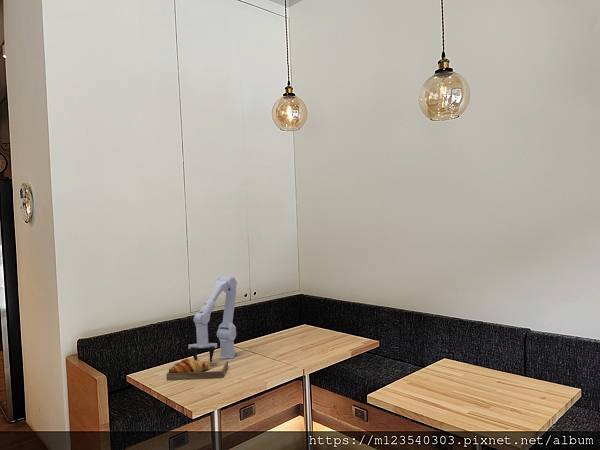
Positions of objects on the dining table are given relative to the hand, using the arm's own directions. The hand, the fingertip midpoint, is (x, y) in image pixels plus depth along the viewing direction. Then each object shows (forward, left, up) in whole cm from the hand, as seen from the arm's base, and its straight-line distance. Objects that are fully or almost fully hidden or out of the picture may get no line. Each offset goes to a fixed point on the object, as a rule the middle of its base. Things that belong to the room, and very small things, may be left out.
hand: (203, 361), depth 231 cm
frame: (+12, 0, -2) cm, 12 cm away
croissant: (+11, -4, -1) cm, 12 cm away
